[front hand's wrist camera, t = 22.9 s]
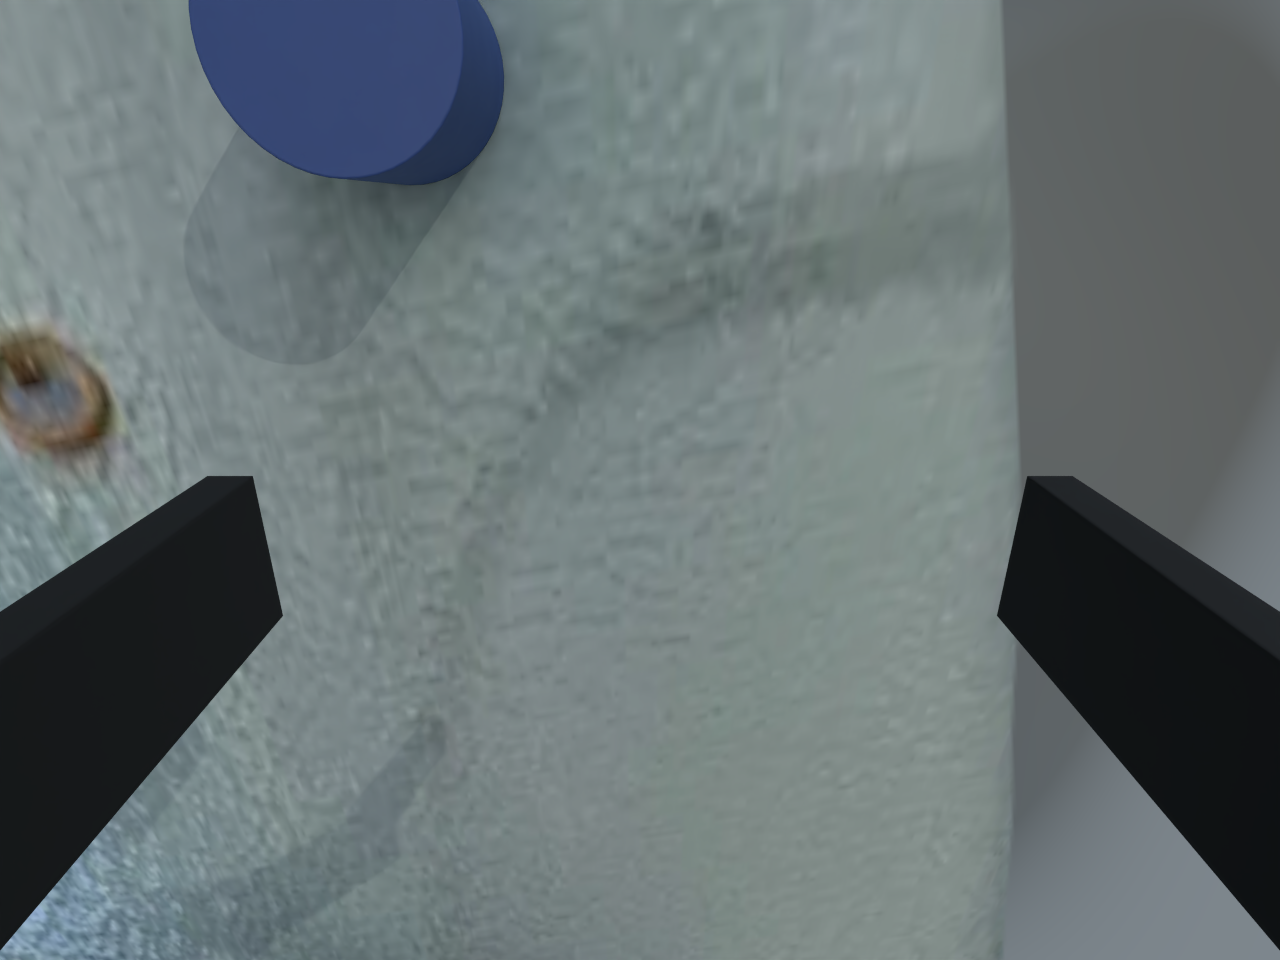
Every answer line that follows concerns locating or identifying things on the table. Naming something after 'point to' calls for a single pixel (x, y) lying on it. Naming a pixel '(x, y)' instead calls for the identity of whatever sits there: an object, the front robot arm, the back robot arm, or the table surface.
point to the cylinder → (356, 82)
